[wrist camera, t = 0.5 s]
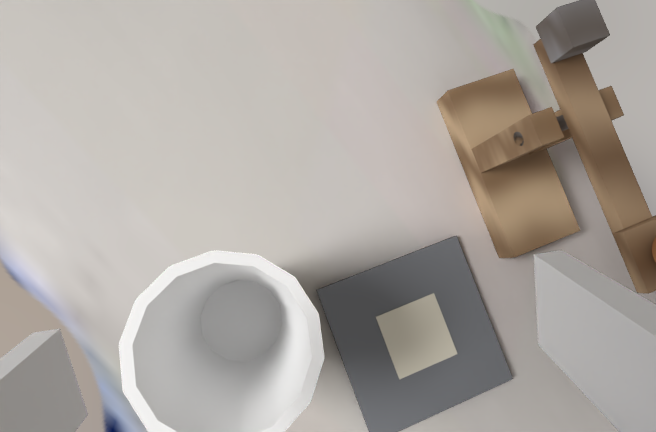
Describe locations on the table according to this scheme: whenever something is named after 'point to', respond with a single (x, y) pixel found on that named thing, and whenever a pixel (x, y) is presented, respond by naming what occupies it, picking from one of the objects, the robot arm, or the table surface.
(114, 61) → the table surface
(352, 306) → the mat
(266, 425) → the foam cup
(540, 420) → the table surface
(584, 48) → the catapult
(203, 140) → the table surface
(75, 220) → the table surface
